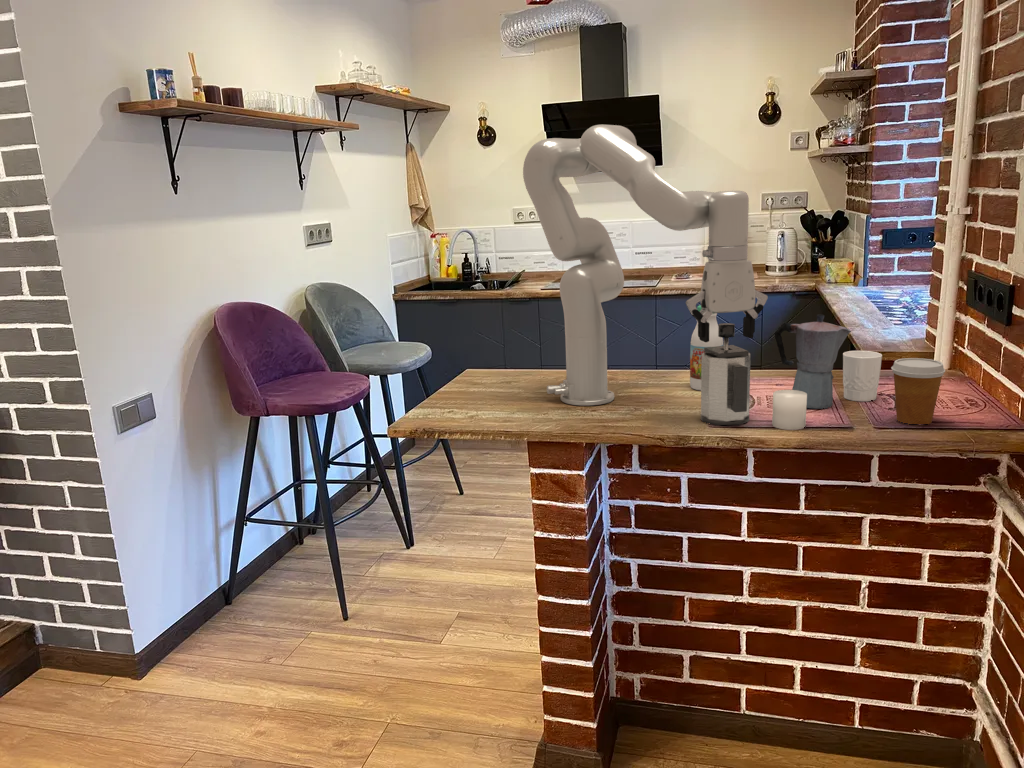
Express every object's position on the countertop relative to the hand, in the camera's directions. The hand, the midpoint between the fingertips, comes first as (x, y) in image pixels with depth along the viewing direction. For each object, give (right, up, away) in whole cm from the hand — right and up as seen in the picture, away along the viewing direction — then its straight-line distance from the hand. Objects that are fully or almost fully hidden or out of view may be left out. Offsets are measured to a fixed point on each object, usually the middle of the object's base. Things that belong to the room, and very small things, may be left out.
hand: (726, 339), depth 163 cm
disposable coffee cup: (+37, -17, -3) cm, 41 cm away
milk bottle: (+3, -10, +30) cm, 32 cm away
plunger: (+1, -10, +3) cm, 11 cm away
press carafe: (+1, -17, +3) cm, 17 cm away
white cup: (+34, -12, +15) cm, 39 cm away
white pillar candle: (+12, -18, -2) cm, 21 cm away
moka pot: (+22, -14, +12) cm, 28 cm away
